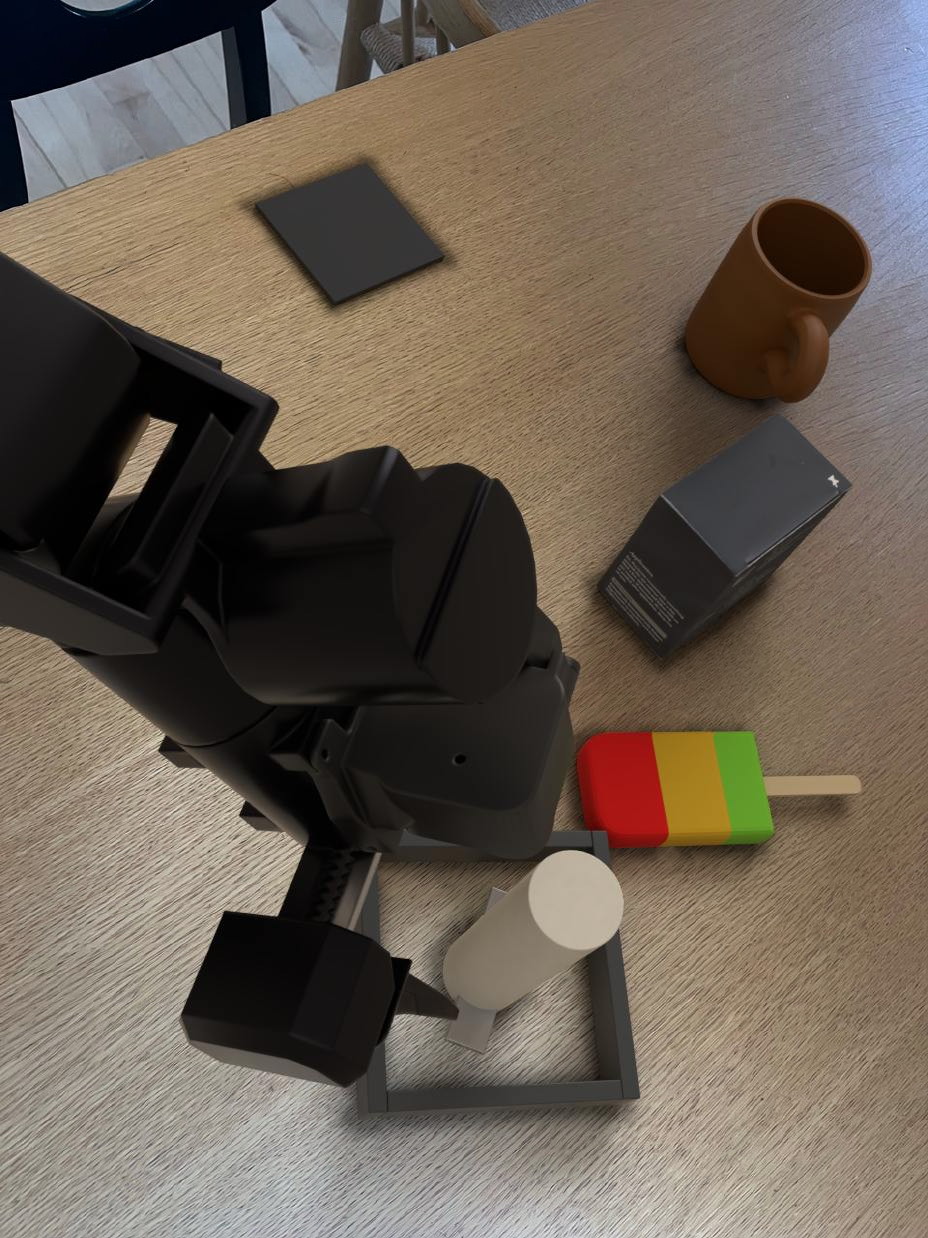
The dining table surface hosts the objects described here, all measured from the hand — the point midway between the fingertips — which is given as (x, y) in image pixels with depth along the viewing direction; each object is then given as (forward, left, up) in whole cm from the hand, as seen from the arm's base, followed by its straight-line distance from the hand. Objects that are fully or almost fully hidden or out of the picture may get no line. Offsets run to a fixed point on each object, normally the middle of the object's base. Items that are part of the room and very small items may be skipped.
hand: (485, 896), depth 47 cm
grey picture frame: (+2, -1, -10) cm, 10 cm away
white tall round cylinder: (+2, -1, -10) cm, 10 cm away
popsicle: (+15, +8, -10) cm, 20 cm away
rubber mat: (-2, +42, -10) cm, 43 cm away
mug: (+21, +34, -10) cm, 41 cm away
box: (+15, +20, -10) cm, 27 cm away
